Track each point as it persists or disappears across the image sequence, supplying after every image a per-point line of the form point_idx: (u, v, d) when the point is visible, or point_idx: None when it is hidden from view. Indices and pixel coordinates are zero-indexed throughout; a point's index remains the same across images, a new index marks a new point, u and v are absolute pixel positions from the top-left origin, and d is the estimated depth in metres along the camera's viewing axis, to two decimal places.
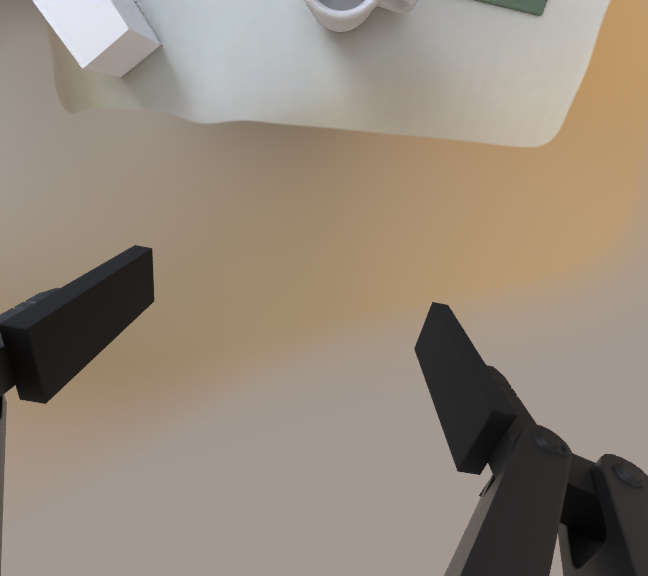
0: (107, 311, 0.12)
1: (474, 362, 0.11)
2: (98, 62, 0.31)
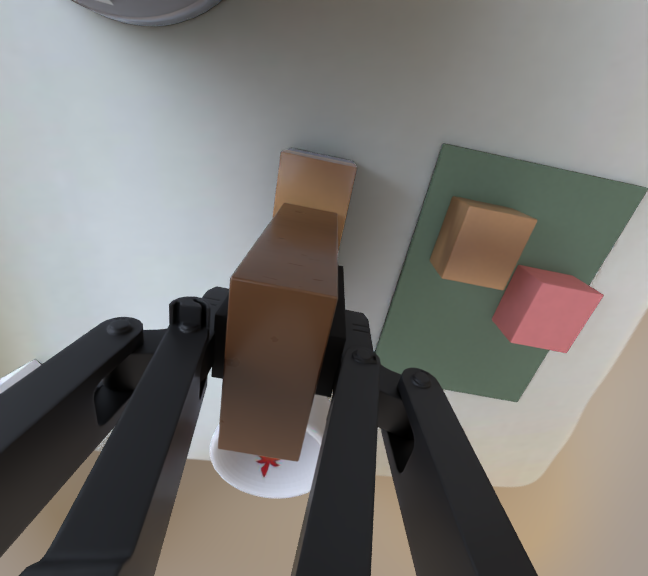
0: None
1: None
2: None
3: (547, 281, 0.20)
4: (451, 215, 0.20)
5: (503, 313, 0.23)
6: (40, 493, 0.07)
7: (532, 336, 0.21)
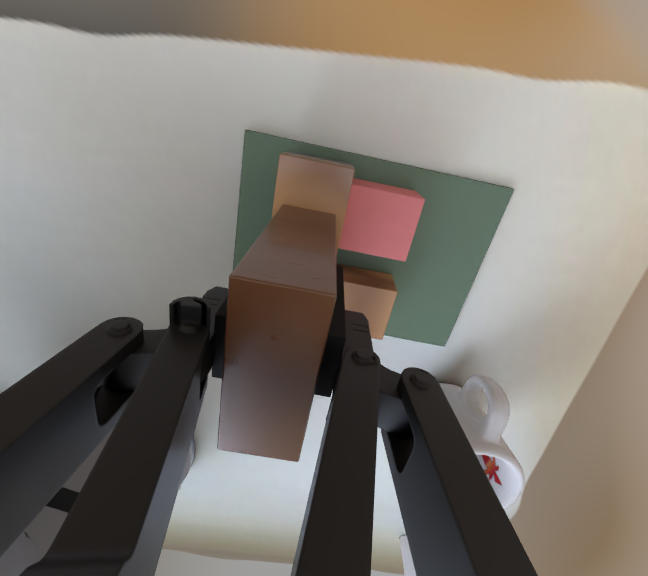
0: None
1: None
2: None
3: None
4: None
5: None
6: (40, 493, 0.07)
7: (398, 242, 0.20)
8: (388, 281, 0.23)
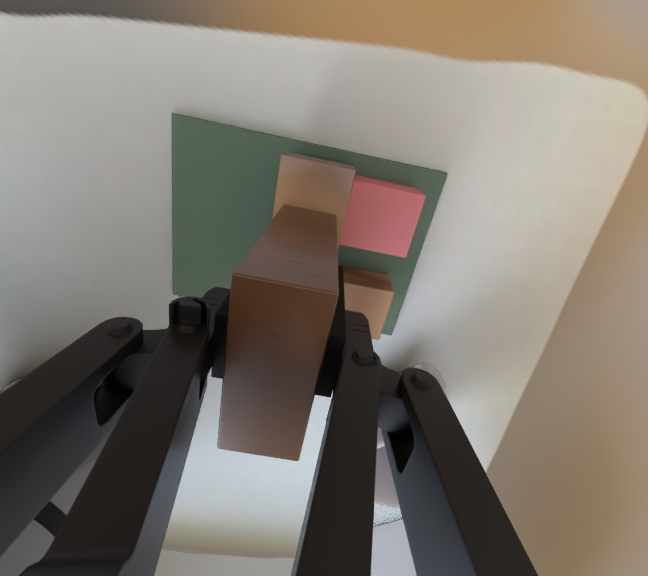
0: None
1: None
2: None
3: None
4: None
5: None
6: (40, 493, 0.07)
7: (399, 238, 0.20)
8: (385, 281, 0.23)
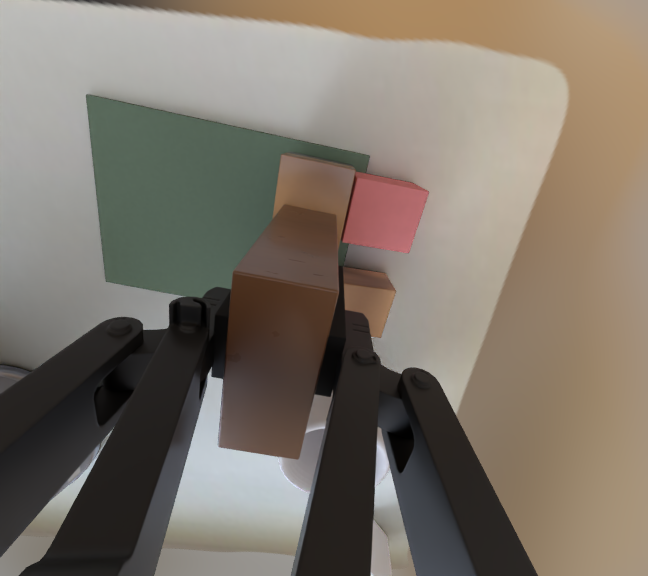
0: None
1: None
2: None
3: (343, 230, 0.21)
4: None
5: None
6: (40, 494, 0.07)
7: (403, 234, 0.21)
8: (385, 280, 0.24)
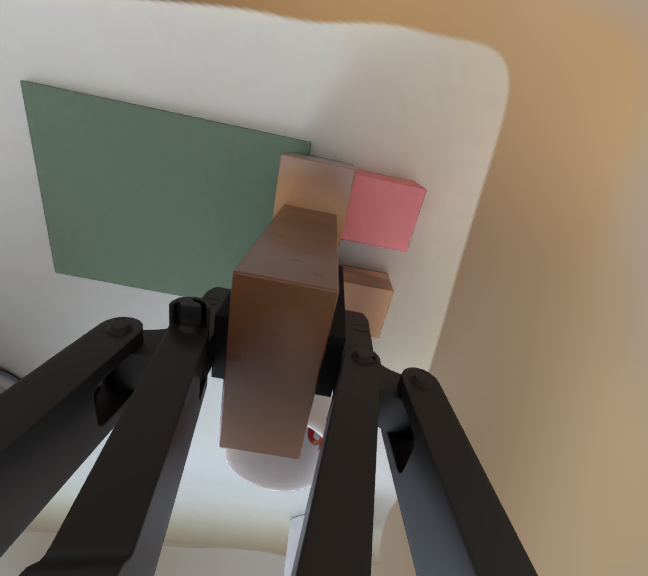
0: None
1: None
2: None
3: None
4: None
5: None
6: (40, 494, 0.07)
7: (400, 232, 0.21)
8: (384, 281, 0.24)
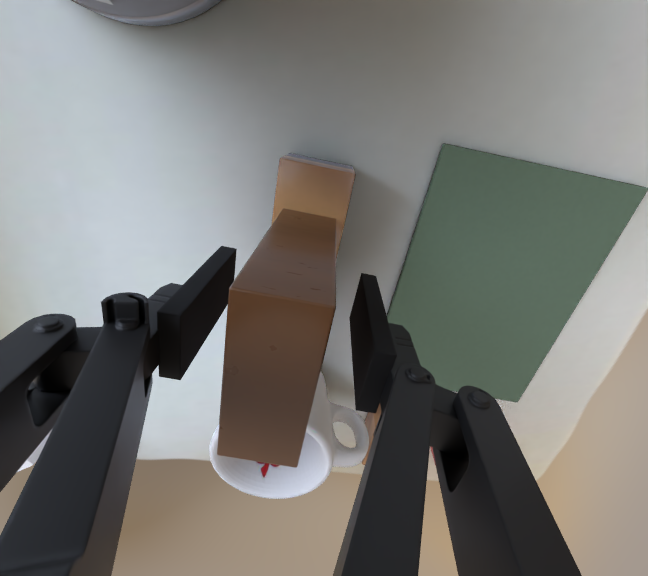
0: (212, 303, 0.14)
1: (377, 318, 0.13)
2: None
3: None
4: (369, 417, 0.28)
5: None
6: None
7: None
8: None
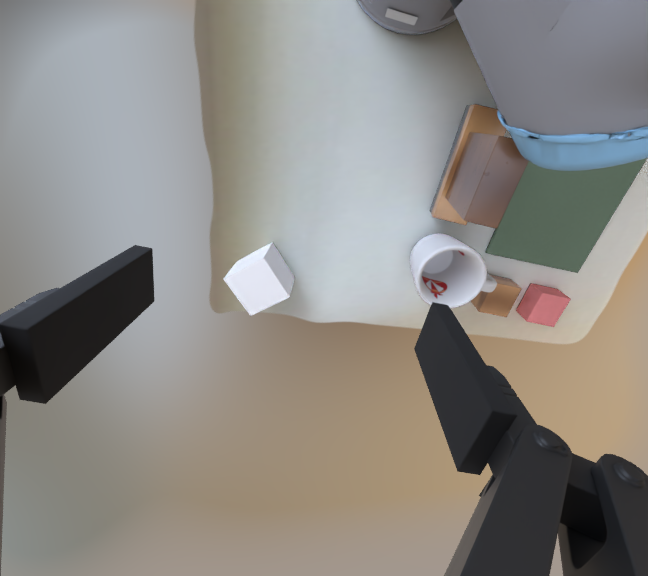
0: (106, 311, 0.12)
1: (474, 362, 0.11)
2: None
3: (544, 292, 0.43)
4: None
5: (522, 307, 0.46)
6: None
7: (537, 318, 0.45)
8: None
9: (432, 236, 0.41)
